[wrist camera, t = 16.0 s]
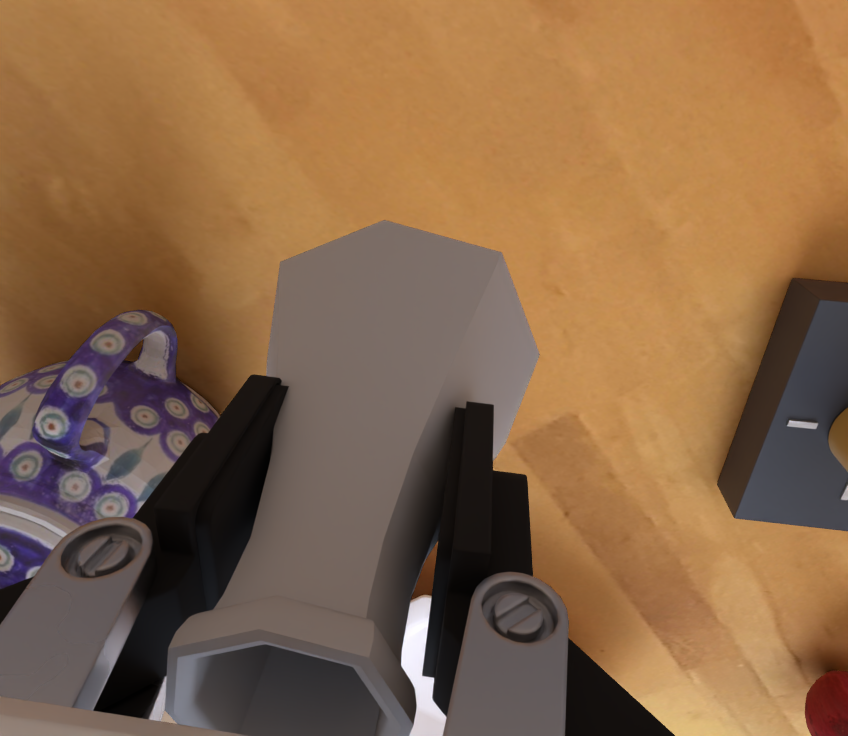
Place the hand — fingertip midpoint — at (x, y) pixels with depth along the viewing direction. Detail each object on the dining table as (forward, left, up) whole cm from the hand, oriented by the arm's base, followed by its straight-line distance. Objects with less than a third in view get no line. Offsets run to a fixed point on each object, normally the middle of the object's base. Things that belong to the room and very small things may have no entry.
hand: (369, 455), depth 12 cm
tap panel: (+8, +22, -21) cm, 32 cm away
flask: (0, 0, -5) cm, 5 cm away
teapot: (+16, -18, -21) cm, 32 cm away
